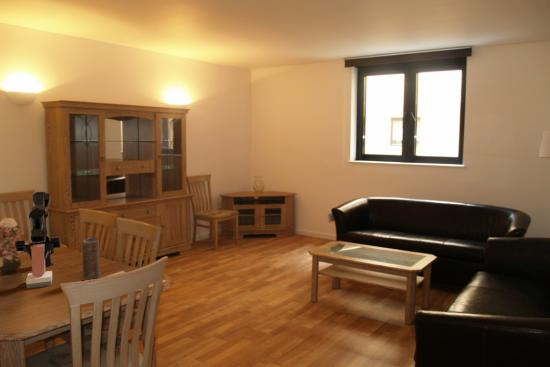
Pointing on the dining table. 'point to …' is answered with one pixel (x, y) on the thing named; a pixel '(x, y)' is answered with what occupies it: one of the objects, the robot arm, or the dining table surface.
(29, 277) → the base block
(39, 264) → the top brick
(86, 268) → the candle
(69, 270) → the dining table surface
